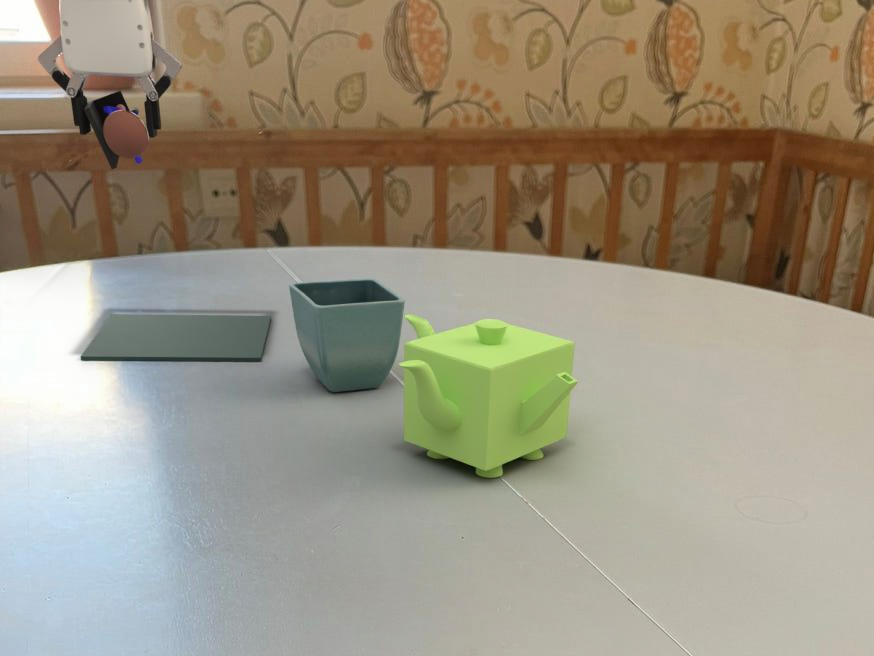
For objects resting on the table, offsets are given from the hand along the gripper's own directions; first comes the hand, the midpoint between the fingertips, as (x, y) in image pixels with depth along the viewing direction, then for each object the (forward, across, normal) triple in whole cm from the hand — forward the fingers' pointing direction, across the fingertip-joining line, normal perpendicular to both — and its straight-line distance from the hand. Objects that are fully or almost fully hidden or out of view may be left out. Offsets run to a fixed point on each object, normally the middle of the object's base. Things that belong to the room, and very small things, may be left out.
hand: (119, 133), depth 128 cm
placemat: (+17, -10, +28) cm, 34 cm away
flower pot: (+17, -27, +44) cm, 54 cm away
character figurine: (+4, 0, 0) cm, 4 cm away
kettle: (+17, -38, +62) cm, 75 cm away
